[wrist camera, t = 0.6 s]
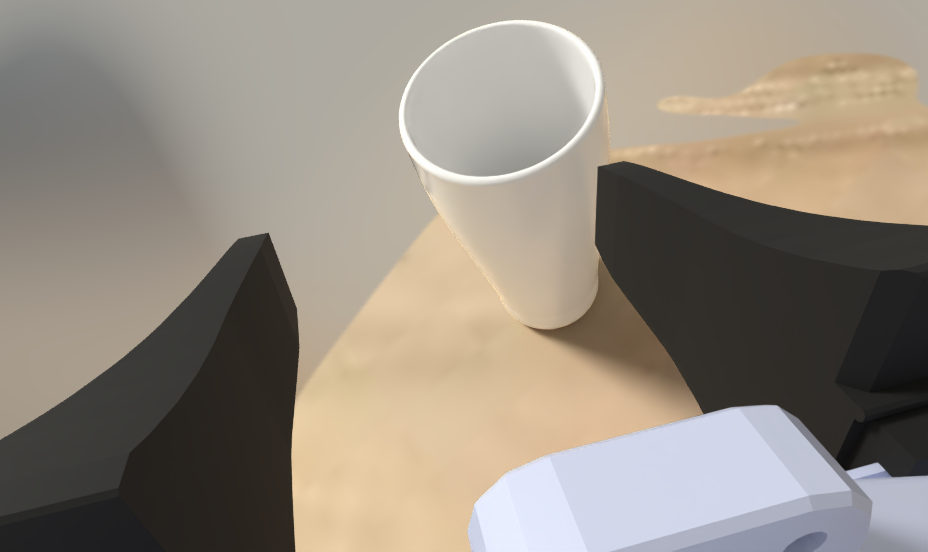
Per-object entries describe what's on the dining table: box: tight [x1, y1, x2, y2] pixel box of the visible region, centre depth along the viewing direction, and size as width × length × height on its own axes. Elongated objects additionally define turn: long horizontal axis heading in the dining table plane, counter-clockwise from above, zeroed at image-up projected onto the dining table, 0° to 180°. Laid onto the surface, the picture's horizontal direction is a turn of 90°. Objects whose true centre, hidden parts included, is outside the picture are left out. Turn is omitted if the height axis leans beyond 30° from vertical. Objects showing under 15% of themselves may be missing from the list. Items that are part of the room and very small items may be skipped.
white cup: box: [399, 20, 610, 329], centre depth 24 cm, size 7×7×15 cm
